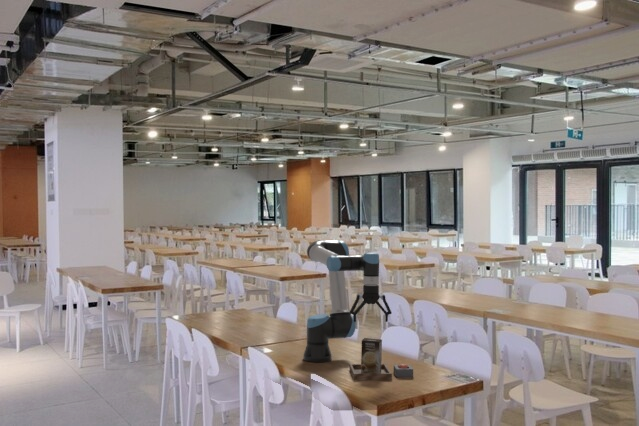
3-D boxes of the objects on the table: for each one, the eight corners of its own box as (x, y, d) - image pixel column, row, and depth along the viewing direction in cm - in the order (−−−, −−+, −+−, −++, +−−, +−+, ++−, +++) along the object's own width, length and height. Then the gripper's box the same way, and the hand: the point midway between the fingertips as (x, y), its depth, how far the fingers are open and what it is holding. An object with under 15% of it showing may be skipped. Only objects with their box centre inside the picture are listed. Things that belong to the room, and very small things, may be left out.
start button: (400, 372, 283) (400, 366, 283) (398, 370, 287) (398, 363, 287) (408, 372, 284) (408, 365, 284) (406, 370, 288) (406, 363, 288)
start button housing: (396, 377, 281) (396, 369, 281) (393, 373, 289) (393, 365, 289) (413, 377, 282) (413, 369, 282) (409, 373, 290) (409, 364, 290)
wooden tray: (353, 380, 276) (353, 373, 276) (349, 370, 294) (349, 364, 294) (391, 379, 277) (391, 373, 277) (385, 370, 295) (385, 364, 295)
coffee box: (360, 373, 284) (360, 340, 284) (363, 370, 290) (363, 337, 290) (379, 375, 281) (379, 341, 281) (381, 372, 287) (382, 339, 287)
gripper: (346, 285, 281) (345, 329, 282) (397, 285, 283) (397, 330, 283) (344, 283, 289) (344, 326, 289) (395, 283, 290) (394, 326, 290)
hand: (370, 328), depth 286 cm, fingers open, 13 cm apart
